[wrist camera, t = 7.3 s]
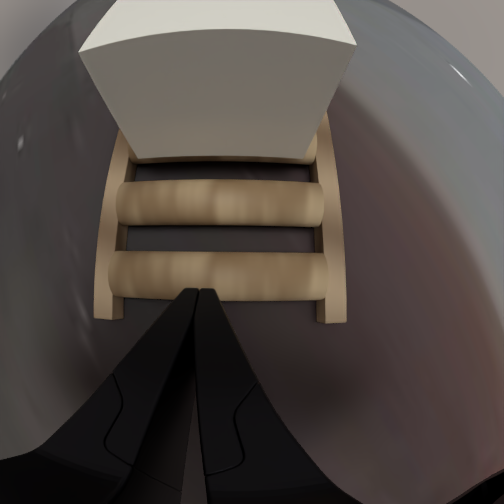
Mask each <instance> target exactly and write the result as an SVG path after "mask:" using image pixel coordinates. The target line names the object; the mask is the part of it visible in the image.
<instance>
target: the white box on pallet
mask: <svg viewBox="0 0 504 504" xmlns="http://www.w3.org/2000/svg"><path fill="white" fill-rule="evenodd" d="M356 47H357V44H356V42H355V40H354V38H353V36H352V34H351V32H350V30H349V28H348V26H347V24H346V22H345V20H344V18H343V17H342V15H341V13H340V11H339V9H338V8H337V6H336V4H335V2H334V1H333V0H117V1H116V2H115V3H114V5H113V6H112V7H111V8H110V9H109V11H108V12H107V13H106V14H105V16H104V17H103V18H102V19H101V21H100V22H99V23H98V25H97V26H96V27H95V29H94V30H93V31H92V33H91V34H90V36H89V37H88V38H87V40H86V41H85V43H84V44H83V46H82V47H81V49H80V50H79V52H78V53H79V55H80V57H81V59H82V61H83V63H84V65H85V67H86V69H87V70H88V72H89V74H90V76H91V78H92V80H93V82H94V83H95V85H96V87H97V89H98V91H99V93H100V94H101V96H102V98H103V100H104V102H105V103H106V105H107V107H108V109H109V110H110V112H111V114H112V116H113V117H114V119H115V121H116V123H117V124H118V126H119V128H120V129H121V131H122V133H123V134H124V136H125V138H126V139H127V141H128V143H129V145H130V146H131V148H132V149H133V151H134V153H135V154H136V156H137V158H138V159H142V158H156V157H176V156H261V157H282V158H297V159H303V158H304V156H305V154H306V152H307V150H308V148H309V146H310V144H311V142H312V139H313V137H314V135H315V133H316V131H317V129H318V127H319V125H320V123H321V121H322V118H323V116H324V114H325V112H326V110H327V108H328V106H329V104H330V102H331V100H332V97H333V95H334V93H335V91H336V89H337V87H338V85H339V83H340V81H341V78H342V76H343V74H344V72H345V70H346V68H347V66H348V64H349V61H350V59H351V57H352V55H353V53H354V51H355V49H356Z"/></svg>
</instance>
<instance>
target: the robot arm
mask: <svg viewBox="0 0 504 504" xmlns="http://www.w3.org/2000/svg"><path fill="white" fill-rule="evenodd" d="M195 390H196V398H197V411H198V423H199V434H200V444H201V453H202V462H203V470H204V475H205V485H206V493H207V503H208V504H363V503H361V502H359V501H358V500H356V499H355V498H353V497H351V496H350V495H348V494H347V493H345V492H344V491H342V490H341V489H340V488H339V487H337V486H336V485H335V484H334V483H333V482H332V481H331V480H330V479H329V478H328V477H327V476H326V475H325V474H324V473H323V472H322V471H321V470H320V469H319V467H318V466H317V465H316V464H315V463H314V461H313V460H312V459H311V458H310V457H309V455H308V454H307V453H306V452H305V450H304V449H303V448H302V447H301V445H300V444H299V443H298V442H297V440H296V439H295V438H294V436H293V435H292V434H291V433H290V431H289V430H288V428H287V427H286V426H285V424H284V423H283V421H282V420H281V418H280V417H279V416H278V414H277V413H276V411H275V409H274V407H273V406H272V404H271V402H270V401H269V399H268V397H267V395H266V393H265V391H264V390H263V388H262V386H261V384H260V383H259V380H258V378H257V376H256V374H255V372H254V370H253V368H252V366H251V364H250V362H249V360H248V358H247V356H246V354H245V352H244V350H243V348H242V346H241V344H240V342H239V340H238V338H237V336H236V333H235V331H234V329H233V327H232V325H231V323H230V321H229V319H228V316H227V314H226V312H225V310H224V308H223V306H222V303H221V301H220V299H219V297H218V295H217V292H216V290H215V289H214V288H201V289H200V290H199V288H184V289H183V290H182V291H181V292H180V293H179V294H178V296H177V297H176V298H175V299H174V300H173V301H172V302H171V304H170V305H169V306H168V307H167V308H166V309H165V310H164V312H163V313H162V314H161V315H160V316H159V317H158V318H157V320H156V321H155V322H154V323H153V324H152V325H151V327H150V328H149V329H148V330H147V331H146V332H145V334H144V335H143V336H142V337H141V338H140V339H139V341H138V342H137V343H136V344H135V345H134V346H133V348H132V349H131V350H130V351H129V352H128V354H127V355H126V356H125V357H124V358H123V359H122V361H121V362H120V363H119V364H118V365H117V367H116V368H115V369H114V370H113V373H111V374H110V375H109V376H108V377H107V378H106V380H105V381H104V382H103V383H102V384H101V386H100V387H99V388H98V389H97V390H96V391H95V393H94V394H93V395H92V396H91V397H90V398H89V399H88V400H87V401H86V402H85V403H84V404H83V405H82V406H81V407H80V408H79V410H78V411H77V412H76V413H75V414H74V415H72V416H71V417H70V418H69V419H68V420H67V421H66V422H65V423H64V424H63V425H62V426H61V427H60V428H59V429H58V430H57V431H56V432H55V433H54V434H53V435H52V436H51V437H50V438H49V439H48V440H47V441H46V442H44V443H43V444H42V445H41V446H39V447H38V448H36V449H34V450H33V451H30V452H28V453H25V454H22V455H18V456H15V457H11V458H7V459H2V460H0V504H180V502H181V492H180V491H182V484H183V476H184V467H185V460H186V452H187V445H188V437H189V430H190V423H191V416H192V410H193V403H194V397H195ZM447 504H504V469H502V470H500V471H499V472H497V473H495V474H493V475H491V476H489V477H488V478H486V479H485V480H483V481H481V482H480V483H478V484H476V485H475V486H473V487H471V488H470V489H469V490H467V491H466V492H464V493H463V494H461V495H460V496H458V497H456V498H455V499H453V500H452V501H450V502H448V503H447Z"/></svg>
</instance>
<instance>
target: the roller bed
mask: <svg viewBox="0 0 504 504" xmlns="http://www.w3.org/2000/svg"><path fill="white" fill-rule="evenodd" d="M192 161H243V162H272V163H290V164H304V165H309V171H310V182H311V183H309V182H293V181H272V180H237V179H192V180H158V181H138V182H134V180H135V174H136V169H137V164H147V163H164V162H192ZM133 225H247V226H294V227H314V240H315V253H280V252H185V251H126V244H127V233H128V226H133ZM184 288H199V290H200V289H201V288H214V289H215V290H216V292H217V295H218V297H219V299H220V301H298V300H316V313H317V322H321V323H325V324H326V323H341V322H346V274H345V254H344V238H343V226H342V215H341V204H340V195H339V187H338V179H337V171H336V164H335V157H334V150H333V144H332V138H331V132H330V127H329V121H328V116H327V111H326V112H325V114H324V116H323V118H322V121H321V123H320V125H319V127H318V129H317V131H316V133H315V135H314V137H313V139H312V142H311V144H310V146H309V148H308V150H307V152H306V154H305V156H304V158H303V159H297V158H282V157H261V156H176V157H156V158H142V159H138V158H137V156H136V154H135V153H134V151H133V149H132V148H131V146H130V145H129V143H128V141H127V139H126V138H125V136H124V134H123V133H122V131H121V129H120V128H119V132H118V135H117V139H116V143H115V147H114V151H113V155H112V159H111V163H110V168H109V173H108V177H107V182H106V188H105V193H104V199H103V205H102V211H101V218H100V226H99V234H98V243H97V253H96V266H95V283H94V318H101V319H110V320H114V319H123V304H124V297H129V298H147V299H169V300H174V299H175V298H176V297H177V296H178V294H179V293H180V292H181V291H182V290H183V289H184Z"/></svg>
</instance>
